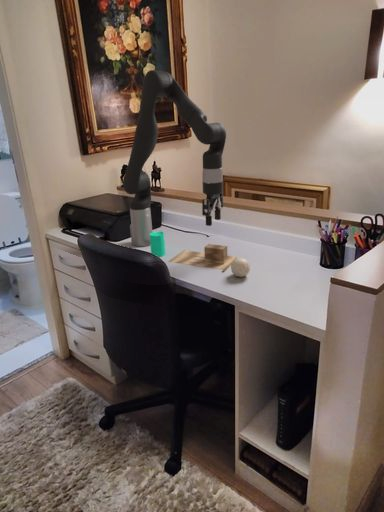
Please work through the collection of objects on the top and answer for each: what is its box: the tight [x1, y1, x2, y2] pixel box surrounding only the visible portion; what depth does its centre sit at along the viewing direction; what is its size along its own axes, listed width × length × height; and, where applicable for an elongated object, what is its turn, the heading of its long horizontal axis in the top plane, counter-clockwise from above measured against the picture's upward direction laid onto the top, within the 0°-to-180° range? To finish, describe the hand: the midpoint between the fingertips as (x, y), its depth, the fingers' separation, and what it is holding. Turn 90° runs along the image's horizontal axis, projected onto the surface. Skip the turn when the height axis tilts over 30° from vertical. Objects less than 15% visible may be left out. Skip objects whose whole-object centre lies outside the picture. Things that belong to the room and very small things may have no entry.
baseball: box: [230, 257, 251, 278], centre depth 138 cm, size 7×7×7 cm
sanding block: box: [203, 243, 228, 264], centre depth 150 cm, size 8×4×6 cm, turn 64°
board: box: [168, 249, 237, 273], centre depth 154 cm, size 24×14×1 cm, turn 64°
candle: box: [149, 229, 166, 258], centre depth 160 cm, size 6×6×12 cm
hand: (213, 222), depth 147 cm, fingers open, 8 cm apart
